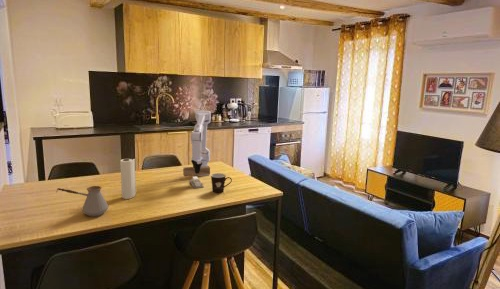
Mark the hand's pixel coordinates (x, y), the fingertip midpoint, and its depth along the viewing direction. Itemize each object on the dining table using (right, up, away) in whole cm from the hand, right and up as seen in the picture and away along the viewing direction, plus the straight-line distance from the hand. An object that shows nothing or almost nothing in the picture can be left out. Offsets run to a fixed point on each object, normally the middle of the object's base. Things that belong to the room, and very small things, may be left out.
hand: (196, 172), depth 204 cm
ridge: (0, -8, +2) cm, 8 cm away
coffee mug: (+16, -11, -10) cm, 22 cm away
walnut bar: (0, -1, 0) cm, 2 cm away
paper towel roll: (-33, -12, -24) cm, 43 cm away
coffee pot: (-46, -17, -48) cm, 68 cm away
